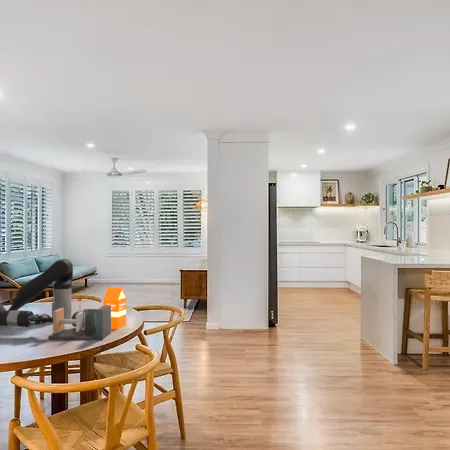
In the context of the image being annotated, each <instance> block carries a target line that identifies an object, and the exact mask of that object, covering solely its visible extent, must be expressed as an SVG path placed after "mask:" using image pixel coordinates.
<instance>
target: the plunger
mask: <svg viewBox="0 0 450 450" xmlns="http://www.w3.org/2000/svg"><path fill="white" fill-rule="evenodd" d="M66 324H67V325H68V324H69V325H72V324H76V319H72V318H71V319H64V308H60V309H58V310H55V311H53V323H52V334H53V333H58V332H60V331H62V330H63V329H65V325H66Z"/></svg>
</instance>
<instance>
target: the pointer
mask: <svg viewBox="0 0 450 450" xmlns="http://www.w3.org/2000/svg"><path fill="white" fill-rule="evenodd" d="M81 304H82V303H81V302H78V311H79V313H78V314H76V327H75V330H76V332H79V331H81V330H84V327H83V312H81V311H82V310H81V308H82V307H81V306H82V305H81Z"/></svg>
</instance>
